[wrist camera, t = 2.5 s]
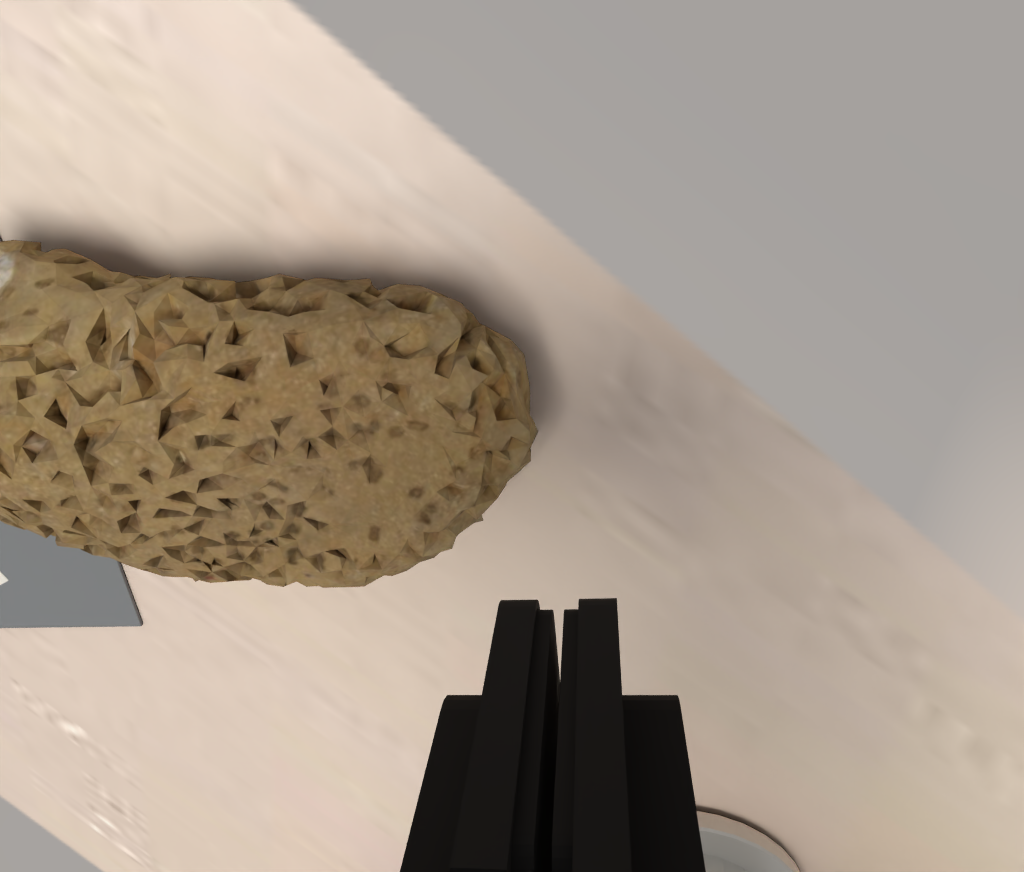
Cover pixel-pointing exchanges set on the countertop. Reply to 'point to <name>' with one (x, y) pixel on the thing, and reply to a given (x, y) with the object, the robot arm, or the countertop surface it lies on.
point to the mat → (59, 585)
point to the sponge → (249, 420)
